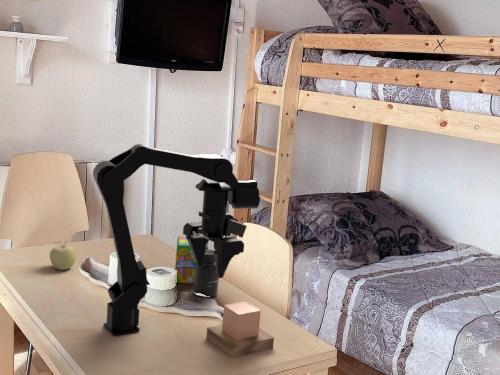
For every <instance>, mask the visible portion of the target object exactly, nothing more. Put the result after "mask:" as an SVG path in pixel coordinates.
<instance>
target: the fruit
mask: <svg viewBox="0 0 500 375" xmlns="http://www.w3.org/2000/svg"><path fill="white" fill-rule="evenodd" d="M49 260H50V263H51V265H52V266H53V267H54V268H55V269H56V270H60V271H65V270H69V269H71V268H72V267H73V266H74V264H75V263H76V260H77V253H76V250H75V248H74V247H73V246H72V245H69V244H66V242H63V244H59V245H56V246H55V245H54V246H53V248H52V249H51V250H50V253H49Z"/></svg>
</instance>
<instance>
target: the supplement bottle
mask: <svg viewBox="0 0 500 375" xmlns="http://www.w3.org/2000/svg"><path fill="white" fill-rule="evenodd" d="M213 251H215V249H208V250H205V256H204V262H203V266H198V264H197V262H196V263H195V272H194V284H192V285H193V286H192V293H193V292H195V293H201V294H204V295H206V296H210V298H214V297H216V296H217V295H218V292H219V281H220V278H218V275H217V271H216V266H215V260H214V255H213Z"/></svg>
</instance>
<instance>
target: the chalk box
mask: <svg viewBox="0 0 500 375" xmlns="http://www.w3.org/2000/svg"><path fill="white" fill-rule="evenodd" d="M206 250H209V242H208V243H207V244H206ZM175 253H176V254H175V263H174V264H175V265H174V271H175V270H177V282H178V283H177V284H186V285H187V284H188V285H189V284H190V285H193V284H194V272H195V263H196V259H195V257H194V254H193V252H192V249H191V247H190V245H189V243H188V240H187V239H186V236H177V241H176V252H175Z"/></svg>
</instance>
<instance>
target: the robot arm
mask: <svg viewBox="0 0 500 375" xmlns="http://www.w3.org/2000/svg"><path fill="white" fill-rule="evenodd" d="M144 165H148V166H149V165H150V166H153V167H159V168H165V169H171V170H175V171H176V170H177V171H184V172H188V173H193V174H196V175H198V176H201V177H203V179H201V180H200V182H198V183H197V184H195V186H194V187H195V189H197V190H198V191H200V192H203V196H202V199H203V200H202V210H200V211H198V216H199V217H201V221H195V222H186V223H185V224H184V226H183V227H182V228H183V229H182V234H183V235H184V236H185V237H186V239H187V240H188V243H189V245H190V247H191V249H192V252H193V254H194V257H195V259H196V262H197V264H198V266H203V262H204V256H205V250H206V244H207V243H208V244H209V241H210V242H212V243H213V250H214V251H213V255H214V260H215V266H216V271H217V275H218V278H219V279H222V278H224V275H225V274H226V271H227V270H228V267H229V264H230V262H231V261H232V259H233V258H234V257H235V256H238V255H240V254H241V253H244V251H245V243H244V242H243V240H241V239H243V237H244V234H245V233H246V230H247V227H248V226H247V225H246V224H243V223H241V222H239V221H237V220H234V217H235V216H234V215H232V214H230V213H228V205H231V207H232V209H234V210H237V209H239V210H241V209H246V210H247V209H249V210H251V209H253V210H257V208H259V206H260V203H261V196H260V190H259V187H258V183H259V182H257V181H256V180H254V179H251V180H250V179H249V180H238V179H237V177H236V176H235V174H234V172H233V171H234V167H233V165H232V162H231V161H230V160H229V159H227V158H225V157H223V156H221V155H219V154H215V153H214V154H213V153H210V154H209V153H207V154H206V153H202V154H189V153H188V154H187V153H183V152H178V151H172V150H167V149H162V148H156V147H151V146H147V145H143V144H142V143H141V144H140V143H137V144H134V145H133V146H132V147H130V148H128V149H127V150H125V151H123V152H121V153H120V154H118V155H116V156H113V157H112V158H111V159H109V160H103V161H100V162H99V163H97V164H96V165H95V167H94V168H93V169H92V176H93V180H94V181H95V184H96V186H97V189H98V191H99V193H100V195H101V197H102V200H103V201H104V204H105V209H106V213H107V219H108V222H109V226H110V230H111V235H112V239H113V244H114V245H113V246H114V249H115V253H116V258H117V268H116V278H117V279H116V281H115V282H114V283H113V284H112V285H110V287H109V288H108V289H107V293H108V296H109V298H110V300H111V301H110V302H107V306H106V307H107V308H106V322H104V323H103V327H104V328H105V329H106V330H108V331H109V333H110V334H111V335H113V336H116V337H117V336H121V335H127V334H132V333H137V332H140V331H141V330H140V329H141V328H140V327H139V324H140V308H138V307H139V305H140V301H141V300H142V299H143V298H144V297H145V296H146V294H147V293H148V286H150V282H149V281H148V278H147V268H146V267H145V265H144V263H143V262H142V260H138V261H137V259H136V256H135V252H134V246H133V242H132V238H131V237H132V236H131V234H130V232H131V231H130V228H129V224H128V219H127V214H126V209H125V205H124V198H125V196H124V195H125V180H127V179H128V178H130V177H131V176H132V175H133V174H135V173H136V172H137V171H138V169H140V168H141V167H142V166H144ZM206 179H208V180H210V181H213V182H208V181H207V180H206ZM222 183H224V184H225V185H226V186H225V185H221V184H222ZM232 235H236V236H237V237H235V236H232ZM238 237H239V238H241V239H239V238H238Z"/></svg>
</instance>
